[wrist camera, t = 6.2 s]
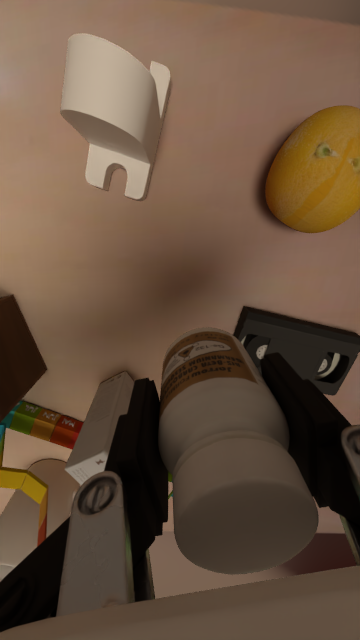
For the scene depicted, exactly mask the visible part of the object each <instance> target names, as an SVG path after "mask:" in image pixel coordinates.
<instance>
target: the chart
mask: <svg viewBox="0 0 360 640" xmlns="http://www.w3.org/2000/svg"><path fill="white" fill-rule="evenodd" d="M60 417H61V418H60ZM82 426H83V422H80V421H78V420H75V419H72V418H69V417H66V416H64V415H62V416H61V414H58V413H55V412H52V411H49V410H47V409H44V408H40V407H38V406H35V405H32V404H29V403H26V402H23V401H19V402H18V403H17V405H16V406H15V407H14V408H13V409H12V410H11V411H10V412H9V414H8V415H7V416H6V417H5V418H4V419H3V420H2V421H1V423H0V487H2V488H11V489H21V490H22V491H23V492H24V493H26V494H27V495H28V496H29V497H31V498H32V499H33V500H35V501H36V502H37V503H38V504H40V503H41V504H40V511H39V526H38V530H39V531H38V542H37V547H38V546H39V545H40V544H41V543H42V542H43V541H44V540H45V539H46V533H47V514H46V513H47V510H48V487H49V485H47V484H46V483H45V482H43V481H42V480H41V479H39V478H38V477H37V476H36V475H34V474H33V473H32V472H30V471H29V472H28V470H22V469H15V468H7V467H2V461H3V451H4V441H5V430H6V428H9V429H12V430H15V431H18V432H21V433H24V434H27V435H29V434H30V435H31V436H34V437H37V438H40V439H43V440H46V441H49V440H50V441H49V442H52V443H55V444H58V445H61V446H64V447H67V448H70V449H73V447H74V445H75V442H76V440H77V438H78V435H79V433H80V431H81V428H82ZM50 438H51V439H50ZM26 475H27V476H26ZM172 477H173V476H172V475H171V473H170V472H169V471H168V481H169V482H172ZM24 480H25V481H24ZM22 485H23V486H22ZM21 487H22V488H21ZM45 492H46V493H45ZM170 496H173V490H172V492H171V493H170V494H169V496H168V499H169V498H170ZM41 501H42V502H41ZM45 515H46V516H45ZM44 517H45V518H44ZM39 528H40V529H39Z"/></svg>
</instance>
